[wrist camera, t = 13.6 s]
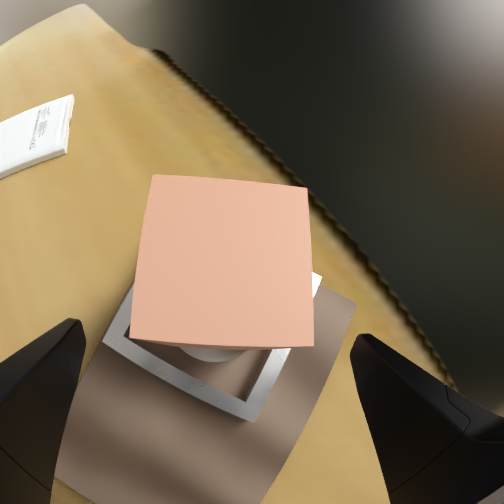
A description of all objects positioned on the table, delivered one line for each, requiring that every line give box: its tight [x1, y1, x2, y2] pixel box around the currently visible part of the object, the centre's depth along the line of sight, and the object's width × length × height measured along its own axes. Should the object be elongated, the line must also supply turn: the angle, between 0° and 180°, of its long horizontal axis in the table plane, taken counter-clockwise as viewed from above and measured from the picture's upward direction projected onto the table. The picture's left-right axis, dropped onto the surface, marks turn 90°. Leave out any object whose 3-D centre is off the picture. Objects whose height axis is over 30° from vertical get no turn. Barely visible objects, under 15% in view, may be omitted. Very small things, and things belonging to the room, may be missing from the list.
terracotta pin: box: [129, 174, 314, 350], centre depth 12 cm, size 4×4×11 cm
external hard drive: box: [0, 94, 74, 179], centre depth 20 cm, size 2×8×12 cm
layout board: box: [54, 272, 357, 504], centre depth 15 cm, size 22×14×2 cm, turn 154°
